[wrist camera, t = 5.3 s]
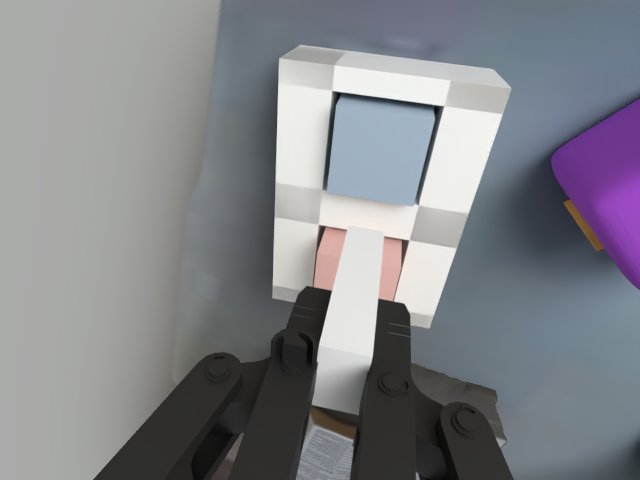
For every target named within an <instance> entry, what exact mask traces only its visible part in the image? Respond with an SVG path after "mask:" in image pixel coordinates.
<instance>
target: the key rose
mask: <svg viewBox="0 0 640 480" xmlns="http://www.w3.org/2000/svg"><path fill="white" fill-rule="evenodd" d="M346 233H347V230H342V229H336V228H331V227H326V228H325V231H324V234H323V237H322V240H321V243H320V246H319V249H318V252H317V260H316V270H315V279H314V287H316V288H321V289H326V290H331V291H332V290H333V286H334V282H335V278H336V274H337V270H338V266H339V262H340V257H341V253H342V249H343V245H344V241H345V237H346ZM401 252H402V240H400V239H394V238H389V237H384V244H383V254H382V265H381V275H380V286H379V296H378V299H383V300H389V301H393V298H394V294H395V290H396V286H397V282H398V279H399V275H400V271H401Z"/></svg>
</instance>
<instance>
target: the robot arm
mask: <svg viewBox="0 0 640 480" xmlns="http://www.w3.org/2000/svg"><path fill="white" fill-rule="evenodd" d="M384 233H385V232H384V231H378V230H372V229H366V228H360V227H355V226H349V225H348V229H347V233H346V237H345V241H344V245H343V249H342V253H341V257H340V262H339V266H338V270H337V274H336V278H335V282H334V286H333V290H332V291H331V290H326V289H321V288H316V287H311V286H306V287H305V288H304V289H303V290H302V291H301V292H300V293H299V294H298V296H297V298H296V301H295V304H294V307H293V310H292V313H291V315H290V318H289V321H288V324H287V327H286V329H284V330H282V331H280V332H278V333H277V334H275V336H274V337H273V339H272V340H271V357H269V358H267V359H265V360H262V361H257V362H247V363H240V361H239V359H238V358H236V357H235V356H233V355H232V354H228V353H224V352H221V353H213V354H211V355H208V356H206V357H204V358H203V359H202V360H201V361H199V362H198V363H197V365H196V366H195V367H194V368H193V369H192V370H191V371H190V372H189V373H188V375H187V376H186V377H185V378H184V379H183V380H182V381H181V382H180V383H179V385H178V386H177V387H176V388H175V389H174V390H173V391H172V393H171V394H170V395H169V396H168V397H167V398H166V399H165V400H164V401H163V402H162V404H161V405H160V406H159V407H158V408H157V409H156V410H155V411H154V412H153V414H152V415H151V416H150V417H149V418H148V419H147V421H146V422H145V423H144V424H143V425H142V426H141V427H140V428H139V429H138V430H137V431H136V433H135V434H134V435H133V436H132V437H131V438H130V440H128V441H127V443H126V444H125V445H124V446H123V447H122V448H121V449H120V450H119V452H118V453H117V454H116V455H115V456H114V457H113V458H112V459H111V460H110V462H109V463H108V464H107V465H106V466H105V467H104V468H103V469H102V471H101V472H100V473H99V474H98V475H97V476H96V477H95V478H94V479H93V480H210V479H211V478H212V476H213V475H214V473H215V472H216V470H217V469H218V467H219V466H220V464H221V463H222V461H223V460H224V458H225V457H226V455H227V453H228V452H229V450H230V449H231V447H232V446H233V444H234V443H235V441H236V440H237V438H238V437H239V435H240V434H241V433H244V432H245V433H244V436H243V439H242V442H241V444H240V447H239V450H238V453H237V456H236V458H235V461H234V464H233V467H232V469H231V472H230V475H229V478H228V480H296V476H297V471H298V467H299V462H300V458H301V454H302V449H303V445H304V440H305V436H306V431H307V427H308V422H309V414H310V409H311V405H315V406H319V407H324V408H328V409H333V410H337V411H342V412H346V413H351V414H355V415H359V417H358V424H357V428H356V432H355V436H354V440H353V444H352V447H354V448H353V457H352V465H351V473H350V480H416V472H417V473H418V475H419V479H420V480H514V479H513V477H512V475H511V472H510V470H509V468H508V465H507V463H506V461H505V458H504V456H503V454H502V451H501V449H500V447H499V444H498V442H497V440H496V437H495V435H494V433H493V430H492V428H491V426H490V423H489V422H488V420H487V419H486V417H485V416H484V414H482V413H481V412H480V411H479V410H478V409H477V408H475V407H473V406H472V405H470V404H468V403H464V402H458V401H457V402H451V403H448V404H447V405H446V406H444V405H442V404H440V403H438V402H436V401H434V400H432V399H430V398H429V397H427V396H426V395H424V394H423V393H422V392H421V391H420V390H419V389H418V388H417V387H416V385H415V384H414V382H413V380H412V377H411V338H410V336H411V333H410V313H409V311H408V309H407V307H406V305H405V304H404V303H399V302H394V301H389V300H383V299H378V296H379V286H380V275H381V265H382V254H383V244H384Z"/></svg>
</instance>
